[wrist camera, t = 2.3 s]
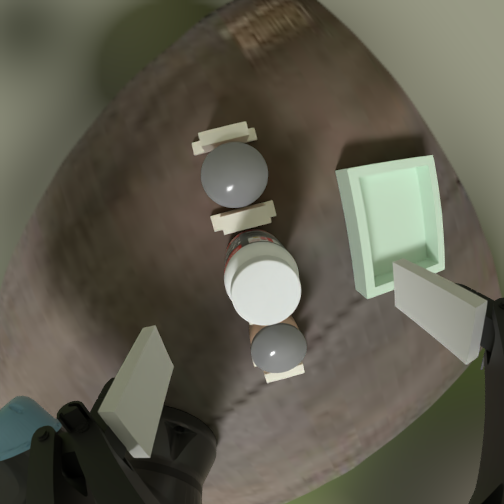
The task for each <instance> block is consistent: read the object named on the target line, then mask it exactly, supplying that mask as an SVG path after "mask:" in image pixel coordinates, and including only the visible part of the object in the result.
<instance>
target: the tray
mask: <svg viewBox="0 0 504 504" xmlns="http://www.w3.org/2000/svg"><path fill="white" fill-rule="evenodd" d="M335 172H336V177H337V181H338V186H339V191H340V195H341V200H342V205H343V211H344V216H345V221H346V227H347V233H348V239H349V245H350V251H351V258H352V265H353V272H354V280H355V288H356V290H357V291H358V292H359V293H361V294H362V295H363V296H364V297H365V298H367V299H369V298H372V297H375V296H378V295H381V294H383V293H386V292H389V291H391V290H394V275H393V262H394V261H397V260H400V259H403V258H404V259H406V260H408V261H410V262H412V263H414V264H416V265H418V266H421V267H423V268H425V269H427V270H429V271H431V272H433V273H437V272H439V271H442V270H444V269H445V257H444V236H443V223H442V212H441V203H440V195H439V188H438V181H437V175H436V169H435V164H434V159H433V155H429V156H420V157H412V158H405V159H399V160H392V161H386V162H380V163H374V164H368V165H362V166H357V167H351V168H346V169H341V170H335Z"/></svg>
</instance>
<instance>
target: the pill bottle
mask: <svg viewBox="0 0 504 504" xmlns="http://www.w3.org/2000/svg"><path fill="white" fill-rule="evenodd" d="M224 283H225V288H226V291H227V294H228V296H229V298H230V299H231V301H232V303H233V306H234V308H235V310H236V311H237V313H238V314H239V315H240V316H241V317H242V318H243V319H245V320H246V321H248V322H250V323H253V324H256V325H265V326H266V325H273V324H276V323H279V322H281V321H283V320H285V319H286V318H288V317H289V316H290V315H291V314H292V313H293V312H294V310H295V309H296V307H297V305H298V304H299V301H300V298H301V284H300V280H299V271H298V267H297V264H296V262H295V260H294V258H293V257H292V256H291V254H290V253H289V252H288V251H287V250H286V249H285V248H284V246H283V245H282V244H281V243H280V242H279V241H278V240H277V239H276V238H275V237H274V236H273V235H272V234H270V233H268V232H266V231H263V230H258V229H251V230H246V231H244V232H241V233H240V234H238V235H237V236H235V237H234V238H233V239H232V241H231V242H230V243H229V245H228V247H227V250H226V254H225V270H224Z"/></svg>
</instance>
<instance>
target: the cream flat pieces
mask: <svg viewBox="0 0 504 504" xmlns="http://www.w3.org/2000/svg"><path fill="white" fill-rule="evenodd" d="M198 135H199V139H200V141H197V142H193V143H192V147H193V151H194V155H195V156H196V155H200V154H203V153H207V152H211V151H212V150H213V149H215V148H216V147H218V146H220V145H222V144H225V143H229V142H241V143H247V142H251V141H256V140H257V136H256V132H255V129H254V128H249V129H248V127H247V123H246V121H245V122H240V123H236V124H231V125H227V126H223V127H219V128H215V129H211V130H208V131H204V132H200V133H198ZM274 216H276V212H275V208H274V203H273V200H271V201H267V202H263V203H259V204H255V205H251V206H247V207H243V208H239V209H235V210H231V211H227V212H224V213H220V214H216V215H212V216H210V217H211V221H212V224H213V228H214V232H216V231H220V230H223V232H224V235H226V234H230V233H233V232H237V231H241V230H245V229H249V228H253V227H256V226H260V225H264V224H268V223H272V222H271V218H270V217H274ZM249 324H250V325H253V323H250V322H249ZM252 360H253V359H252ZM253 363H254V361H253ZM254 367H256V364H255V363H254ZM302 373H305V372H304V367H303V363H302V361H301V362H300V363H299V364H298V365H297V366H296V367H294V368H293V369H291V370H289V371H286V372H282V373H270V372H266V371H264V375H265V378H266V381H267V383H269V382H273V381H277V380H280V379H284V378H288V377H291V376H295V375H298V374H302Z"/></svg>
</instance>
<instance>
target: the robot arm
mask: <svg viewBox="0 0 504 504" xmlns="http://www.w3.org/2000/svg"><path fill="white" fill-rule="evenodd" d="M393 275H394V291H395V306H396V307H397V308H398V309H399V310H401V311H402V312H403V313H405V314H406V315H407V316H408V317H410V318H411V319H412V320H413V321H415V322H416V323H417V324H418V325H419V326H421V327H422V328H423V329H424V330H426V331H427V332H428V333H429V334H430V335H432V336H433V337H434V338H435V339H436V340H438V341H439V342H440V343H441V344H442V345H444V346H445V347H446V348H447V349H448V350H450V351H451V352H452V353H453V354H454V355H455V356H457V357H458V358H459V359H460V360H461V361H462V362H464V363H465V364H466V365H467V364H468V363H470V362H471V361H473V360H474V359H476V358H477V357H478V354H479V349H480V345H481V346H482V347H483V348H485V353H484V357H483V361H482V365H481V370H482V369H483V366H485V424H484V437H483V447H482V454H481V461H480V468H479V474H478V480H477V484H476V488H475V491H474V493H473V495H472V497H471V499H470V501H469V504H504V298H499V299H497V300H495V301H494V300H492V299H490V298H488V297H486V296H484V295H482V294H481V293H479V292H476V291H475V290H473V289H472V290H471V288H469V287H467V286H465V285H462V284H458V283H453V282H451V281H449V280H447V279H445V278H443V277H441V276H439V275H437V274H435V273H433V272H431V271H429V270H427V269H425V268H423V267H421V266H418V265H416V264H414V263H412V262H410V261H408V260H406V259H404V258H403V259H400V260H397V261H394V262H393ZM173 368H174V366H173V364H172V362H171V359H170V357H169V355H168V353H167V351H166V348H165V346H164V344H163V342H162V339H161V337H160V335H159V332H158V330H157V328H156V325H155V326H150V327H145V328H143V329H142V330H141V332H140V334H139V336H138V337H137V339H136V341H135V343H134V345H133V346H132V348H131V350H130V352H129V353H128V355H127V357H126V359H125V361H124V363H123V364H122V366H121V368H120V370H119V372H118V374H117V376H116V377H115V378H111V379H110V380H109V381H108V382H107V383H106V384H105V386H104V387H103V389H102V391H101V393H100V395H99V396H98V399H97V400H96V402H95V404H94V406H93V408H92V410H91V411H90V413H89V411H88V410H87V408H86V407H85V406H84V404H83V403H82V402H80V401H72V402H70V403H67V404H66V405H64V406H63V407H62V408H61V409H60V410H59V411H58V413H57V419H55V418H53V417H52V416H51V415H50V414H49V413H48V412H47V411H45V410H44V409H43V408H42V407H41V406H40V405H39V404H38V403H37V402H35V401H34V400H33V399H31V398H29V397H26V396H17V397H15V398H14V399H12V400H11V401H10V402H8V403H7V404H6V405H5V406H4V407H3V408H1V409H0V504H202V486H203V483H204V481H205V479H206V477H207V475H208V473H209V471H210V469H211V467H212V465H213V463H214V461H215V458H216V438H215V436H214V434H213V432H212V431H211V430H210V429H209V428H208V427H207V426H206V425H205V424H204V423H203V422H201V421H200V420H199V419H197V418H195V417H194V416H192V415H190V414H187V413H185V412H183V411H180V410H177V409H174V408H170V407H166V406H163V404H164V401H165V397H166V393H167V389H168V386H169V382H170V379H171V375H172V371H173Z"/></svg>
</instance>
